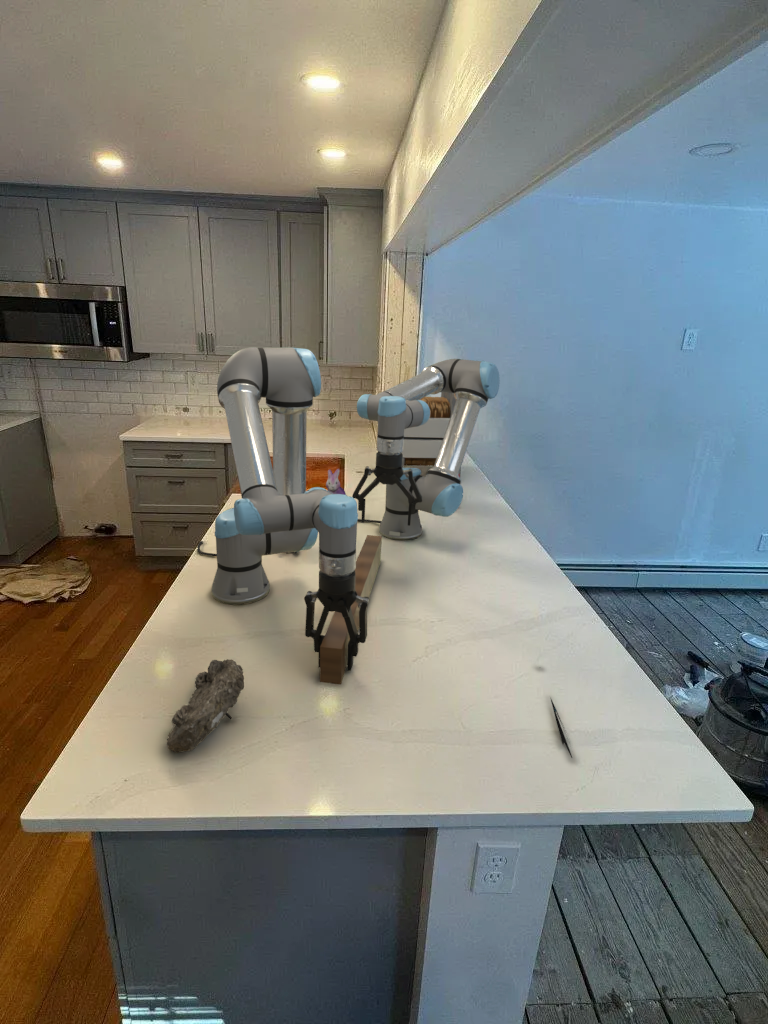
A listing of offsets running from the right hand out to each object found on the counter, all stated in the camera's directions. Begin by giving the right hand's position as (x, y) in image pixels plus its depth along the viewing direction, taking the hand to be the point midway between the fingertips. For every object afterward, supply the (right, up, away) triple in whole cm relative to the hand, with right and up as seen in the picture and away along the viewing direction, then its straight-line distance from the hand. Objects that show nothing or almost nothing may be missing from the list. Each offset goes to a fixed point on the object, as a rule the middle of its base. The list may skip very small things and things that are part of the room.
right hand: (385, 522), depth 167 cm
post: (-8, -23, -19) cm, 31 cm away
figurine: (-20, +5, +57) cm, 60 cm away
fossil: (-33, -36, -59) cm, 77 cm away
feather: (+34, -37, -53) cm, 73 cm away
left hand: (-11, -30, -43) cm, 54 cm away
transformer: (+17, +22, +108) cm, 111 cm away
